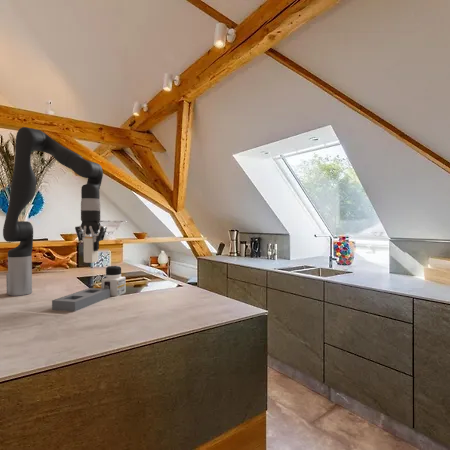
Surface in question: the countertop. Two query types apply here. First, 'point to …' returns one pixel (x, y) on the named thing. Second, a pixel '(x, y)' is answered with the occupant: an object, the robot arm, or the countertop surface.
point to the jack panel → (80, 299)
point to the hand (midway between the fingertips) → (91, 250)
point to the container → (114, 281)
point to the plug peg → (89, 251)
